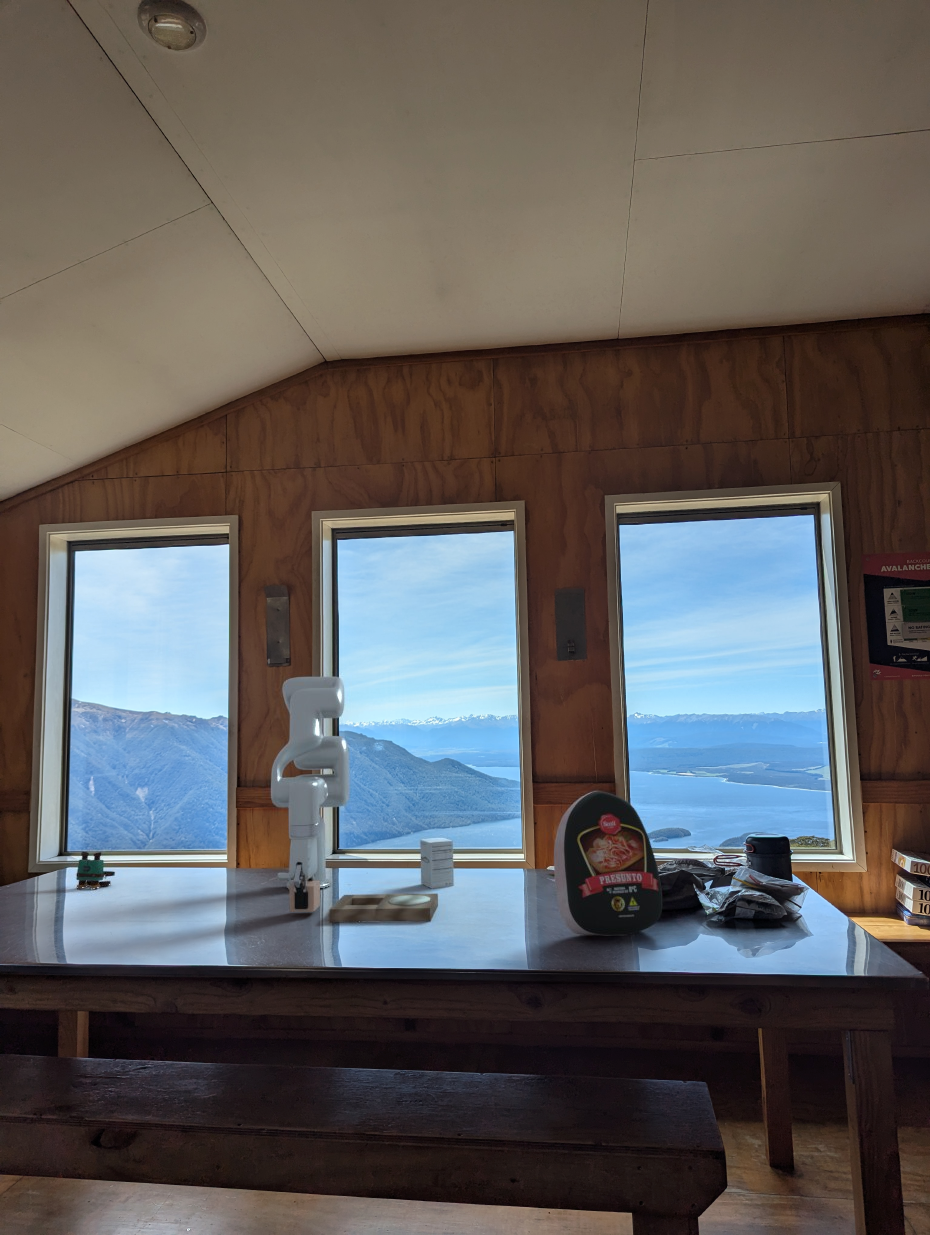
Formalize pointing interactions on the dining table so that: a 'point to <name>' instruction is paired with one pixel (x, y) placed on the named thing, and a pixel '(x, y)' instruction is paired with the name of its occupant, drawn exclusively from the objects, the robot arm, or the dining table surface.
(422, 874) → the supplement box
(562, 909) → the packaged food
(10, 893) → the dining table surface
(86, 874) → the green boxy piece
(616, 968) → the dining table surface
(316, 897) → the block
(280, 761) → the robot arm
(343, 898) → the hole platform
